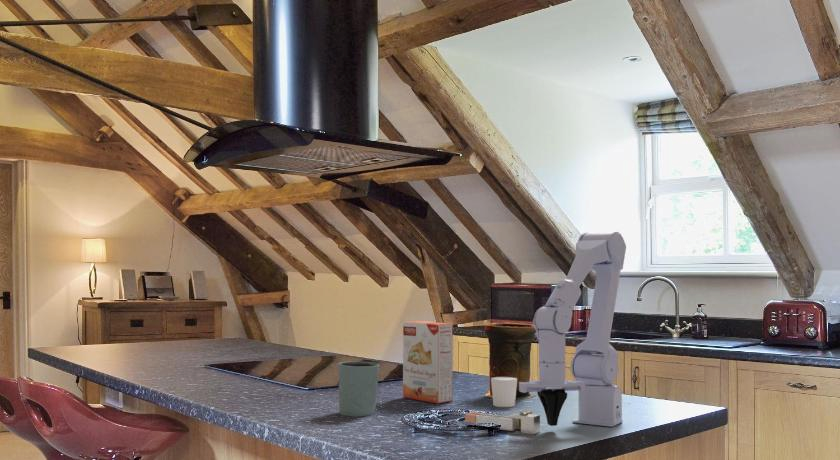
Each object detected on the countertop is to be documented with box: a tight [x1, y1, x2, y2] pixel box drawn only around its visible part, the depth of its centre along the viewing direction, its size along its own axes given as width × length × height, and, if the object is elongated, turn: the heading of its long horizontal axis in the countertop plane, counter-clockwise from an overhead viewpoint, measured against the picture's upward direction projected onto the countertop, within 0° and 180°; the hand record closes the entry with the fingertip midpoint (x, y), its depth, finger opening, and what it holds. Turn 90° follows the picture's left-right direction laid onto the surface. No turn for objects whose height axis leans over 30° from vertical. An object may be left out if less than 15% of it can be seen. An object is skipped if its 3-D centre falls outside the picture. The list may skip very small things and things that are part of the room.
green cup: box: [337, 361, 380, 417], centre depth 195 cm, size 10×10×12 cm
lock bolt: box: [507, 410, 533, 429], centre depth 178 cm, size 5×2×4 cm, turn 58°
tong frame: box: [464, 411, 541, 435], centre depth 176 cm, size 16×4×4 cm, turn 58°
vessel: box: [483, 322, 536, 400], centre depth 226 cm, size 14×14×20 cm
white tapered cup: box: [491, 377, 517, 408], centre depth 209 cm, size 7×7×7 cm
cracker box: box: [402, 320, 454, 405], centre depth 217 cm, size 14×6×21 cm, turn 43°
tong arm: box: [469, 411, 520, 430], centre depth 179 cm, size 12×1×2 cm, turn 58°
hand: (552, 424), depth 174 cm, fingers closed
